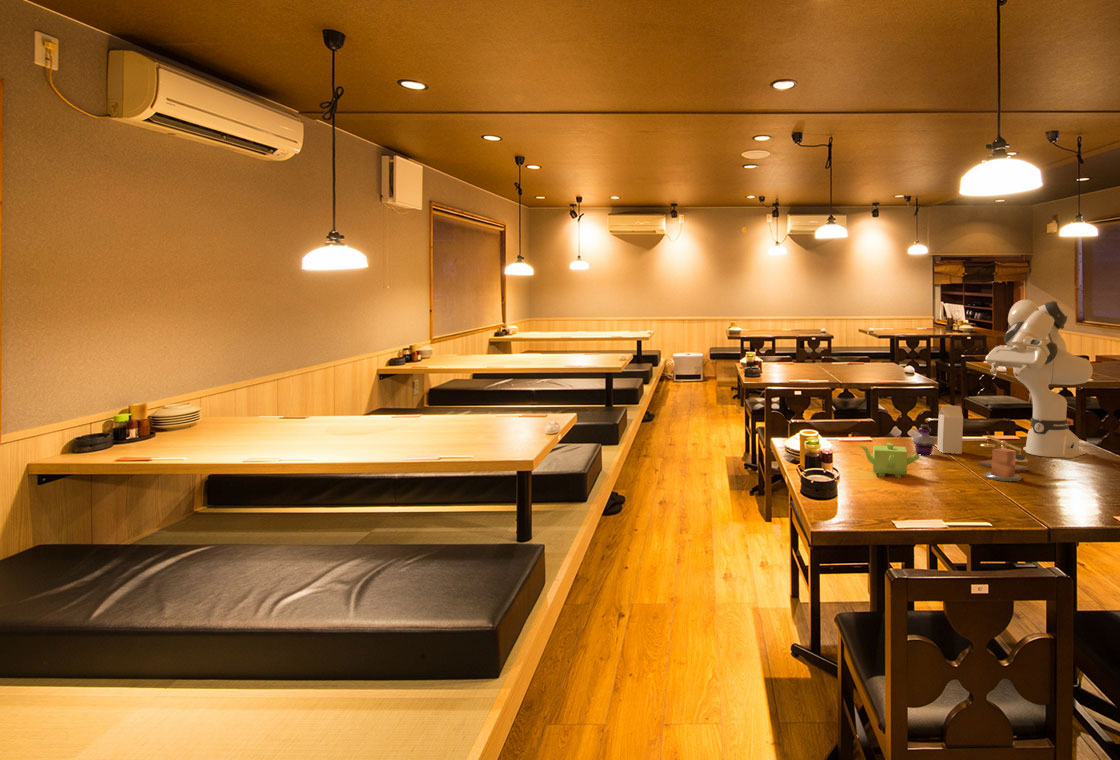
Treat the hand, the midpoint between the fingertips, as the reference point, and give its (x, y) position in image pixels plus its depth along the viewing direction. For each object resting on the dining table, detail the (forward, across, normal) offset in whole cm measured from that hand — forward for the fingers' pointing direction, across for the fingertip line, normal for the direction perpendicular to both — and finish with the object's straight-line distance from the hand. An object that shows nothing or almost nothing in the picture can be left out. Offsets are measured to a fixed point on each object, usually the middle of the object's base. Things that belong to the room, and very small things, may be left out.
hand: (1004, 374), depth 267 cm
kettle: (+57, -10, -8) cm, 58 cm away
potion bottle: (+30, -27, +19) cm, 44 cm away
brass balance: (+25, +2, +23) cm, 34 cm away
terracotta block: (+35, +12, +13) cm, 39 cm away
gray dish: (+35, +12, +14) cm, 40 cm away
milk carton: (+21, -25, +28) cm, 43 cm away
